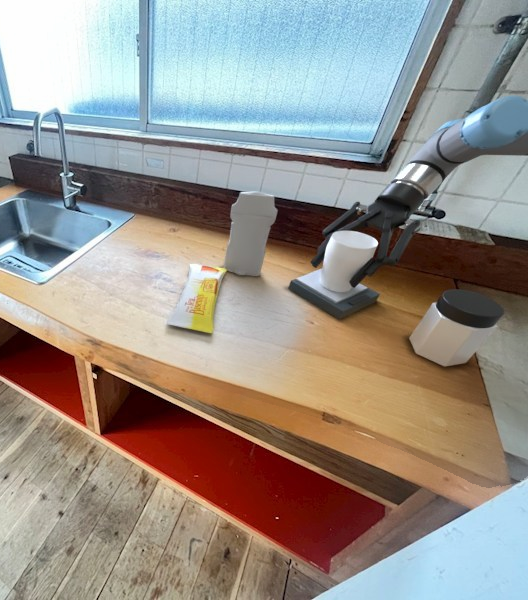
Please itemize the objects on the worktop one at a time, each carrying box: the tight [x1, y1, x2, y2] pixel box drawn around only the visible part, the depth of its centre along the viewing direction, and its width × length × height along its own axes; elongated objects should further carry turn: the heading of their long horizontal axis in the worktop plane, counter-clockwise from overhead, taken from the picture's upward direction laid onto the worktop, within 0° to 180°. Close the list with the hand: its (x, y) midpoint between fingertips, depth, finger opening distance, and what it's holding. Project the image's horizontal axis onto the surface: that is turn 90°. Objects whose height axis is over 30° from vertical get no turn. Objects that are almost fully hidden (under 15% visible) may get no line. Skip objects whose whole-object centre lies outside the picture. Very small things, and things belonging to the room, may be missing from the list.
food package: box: [166, 263, 228, 334], centre depth 79 cm, size 27×2×10 cm
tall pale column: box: [222, 191, 279, 277], centre depth 82 cm, size 11×4×22 cm, turn 66°
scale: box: [288, 268, 381, 320], centre depth 78 cm, size 14×13×3 cm
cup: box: [320, 231, 379, 292], centre depth 73 cm, size 9×9×12 cm
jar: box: [408, 288, 505, 367], centre depth 59 cm, size 9×8×12 cm
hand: (331, 274), depth 73 cm, fingers closed on cup, 9 cm apart
